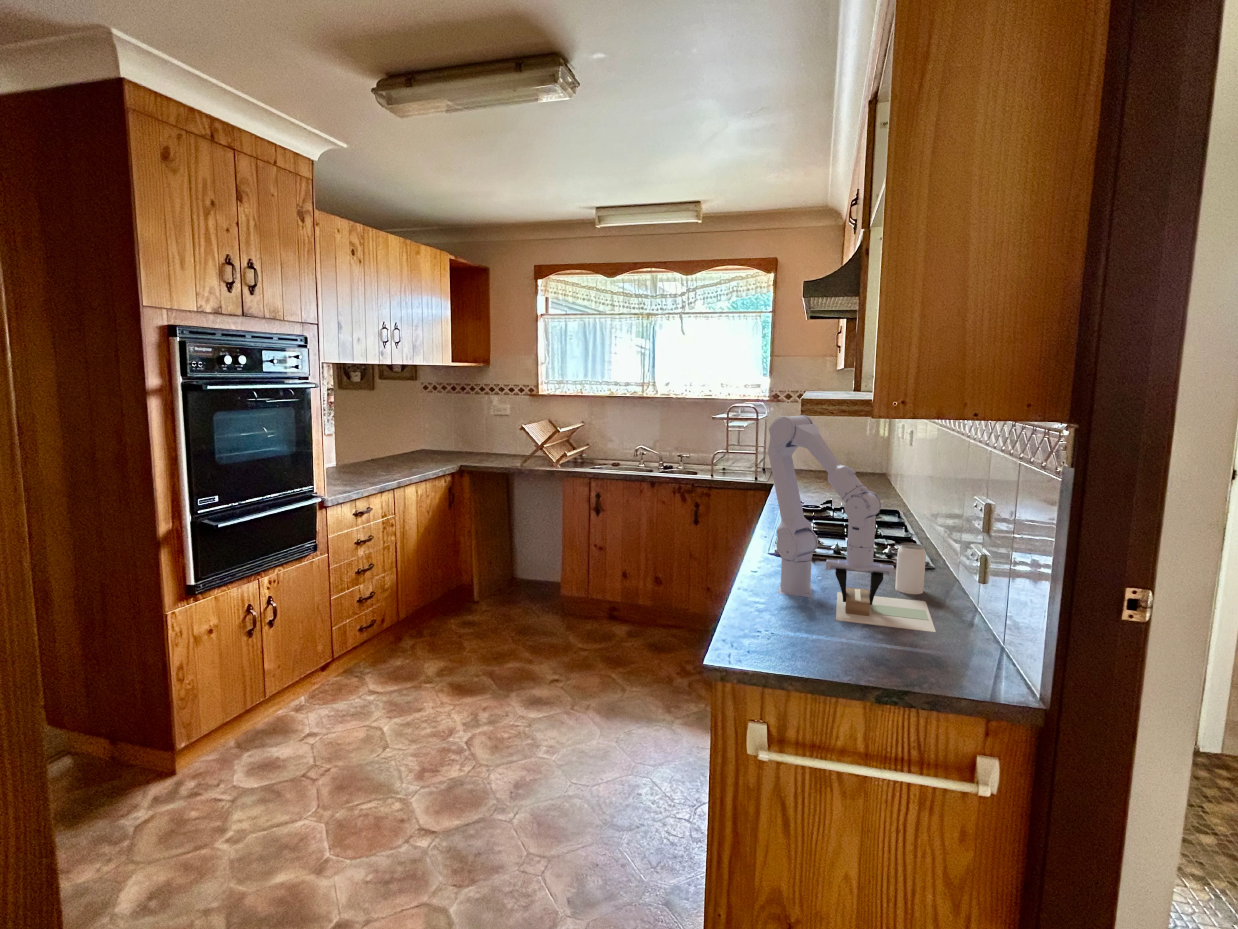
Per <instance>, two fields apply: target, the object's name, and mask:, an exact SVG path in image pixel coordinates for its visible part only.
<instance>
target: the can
mask: <svg viewBox="0 0 1238 929" xmlns="http://www.w3.org/2000/svg"><path fill="white" fill-rule="evenodd" d="M926 557H927V553H926V550H925V546H924V545H922V544H919V543H914V542H902V543H900V544H899V547H898V550H897V556H896V570H895V571H896V572H895V573H896V574H895V588H894V589H895V591H897V592H900V593H902V594H907V595H921V594H923V593H924V589H925V588H924V586H925V573H926V572H925V571H926V561H927V558H926Z"/></svg>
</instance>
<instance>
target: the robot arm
mask: <svg viewBox="0 0 1238 929" xmlns="http://www.w3.org/2000/svg"><path fill="white" fill-rule="evenodd" d="M768 432H769V437H770V438H769V444H768V450H767V453H768V459H769V463H770V469H771V474H772V477H773V478H772V479H773V485H774V489H775V494H776V497H777V498H776V499H777V502H778V503H777V504H778V508H779V514H780V518H781V522H780V524H779V526H778V527H777V529H776V534H777V535H776V536H777V538H776V539H777V540H776V542H775V543H776V551H777V553H778V555H780V559H781V568H780V583H779V587H778V590H777V594H781V595H790V596H798V597H807V598H808V597H809V598H812V592H813V587H814V586H813V585H812V584H811V582H812V581H811V580H812V561H813V560H812V559H813V553H814V552H815V551H816V550H817V549H818V545H819V538H818V536H817V535H816V533H815V532H814V530H813V527H812V523H811V522H810V520H809V519H807V518H806V517H805V515H804V510H803V506H802V499H801V496H800V495H801V494H800V491H799V490H800V489H799V485H798V481H797V476H796V471H795V466H794V465H795V464H794V460H793V454H794V453H795V452H796V450H797V449H798V447H801V448H805V449H807V450H808V452H810V454H811V455H812V456H813V458H815V460H816V461H817V462H818V463H819V464H820V466H822V468H824V470H825V471H826V472H827V483H829V484H830V486H831V487H832V488H833V490H834V491H835V493H836V494H837V495H838V496H839V498H840V499H841V500H842V502H843V503H844V506H843V508H844V509H843V510H844V512H845V514H846V516H847V518H848V521H847V522H848V526H847V528H848V529H847V530H848V531H847V544H846V545H847V546H846V547H847V548H846V559H826V563H825V570H827V571H828V570H829V571H831V570H835V573H834V574H835V577H836V579H837V583H838V584H839V587H840V591H841V592H842V596H843V602H846V587H847V575H848V574H847V573H848V572H855V573H856V572H858V573H867V574H868V573H869V574H870V585H869V586H870V588H869V599H870V605H872V602H873V599H874V596H876V593H877V591H878V589H879V587H880V586H881V584H882V583H883V580H884V575H887V576H889V577H893V576H894V571H895V568H894V565H889V564H885V563H879V562H874V555H875V554H874V551H875V535H876V519H877V518H876V515H878V514H879V512H880V511H881V508H882V502H881V499H880V497H879V495H878V493H876V492H874V491H871V490H869V488H868V487H867V486H866V485H865V486H864V484H863V483H862V481H861V480H860V479H859V478H858V477H857V475H856V473H857V472H856V470H855V469H854V468H850V466H848V465H844V464H843V465H842V464H841V463H840V462H839V460H838V458H837V457H836V456H835V454H834V452H833V451H832V450H831V448H830V446H829V445H828V444H827V443H826V441H825V439H824V438H823V436H822V435H821V434H820V431H819V427H818V425H816V424H815V423H814V421H813V419H812V418H811V417H809V416H807V415H806V414H801V415H792V416H791V415H790V416H782V415H781V416H779V417H777V418H776V419H774V421H773V422H772V423H771V425H770V427H768Z"/></svg>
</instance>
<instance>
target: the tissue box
mask: <svg viewBox="0 0 1238 929" xmlns="http://www.w3.org/2000/svg"><path fill="white" fill-rule="evenodd" d="M869 593H870V589H865V588H857V587H855V588H854V587H847V586H846V614H854V615H863V616H869V610H870V599H869Z"/></svg>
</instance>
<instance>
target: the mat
mask: <svg viewBox="0 0 1238 929" xmlns="http://www.w3.org/2000/svg"><path fill="white" fill-rule="evenodd" d="M835 621H839V622H847V623H856V624H862V625H863V624H864V625H872V626H880V627H890V628H897V629H898V628H899V629H906V630H912V631H913V630H914V631H923V632H931V633H932V632H933V633H936V629H935V625H934V622H933V619H932V615H931V613H930V611H929V607H928V605H927V601H924V600H915V599H908V598H907V599H905V598H896V597H887V596H879V595H875V596H874V599H873V602H872V605H870V610H869V616H863V615H854V614H846V602H843V596H842V591H841V592H840V591H839V592H838V591H837V594H836V612H835Z"/></svg>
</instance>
